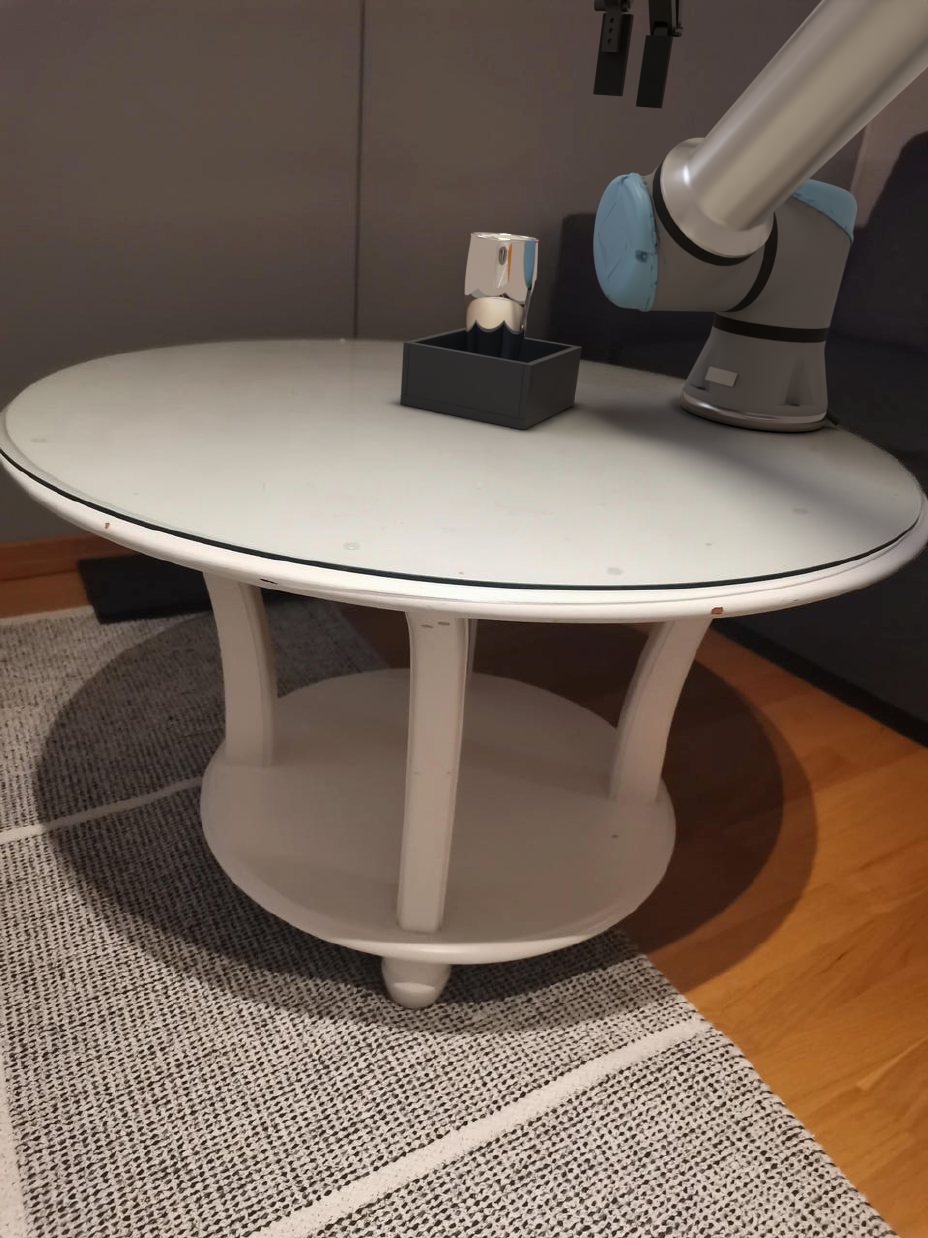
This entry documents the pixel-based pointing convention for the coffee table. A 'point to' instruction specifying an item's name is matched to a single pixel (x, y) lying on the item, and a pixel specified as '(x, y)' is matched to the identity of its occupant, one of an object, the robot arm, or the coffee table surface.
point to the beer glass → (499, 292)
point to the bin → (489, 380)
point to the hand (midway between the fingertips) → (629, 101)
